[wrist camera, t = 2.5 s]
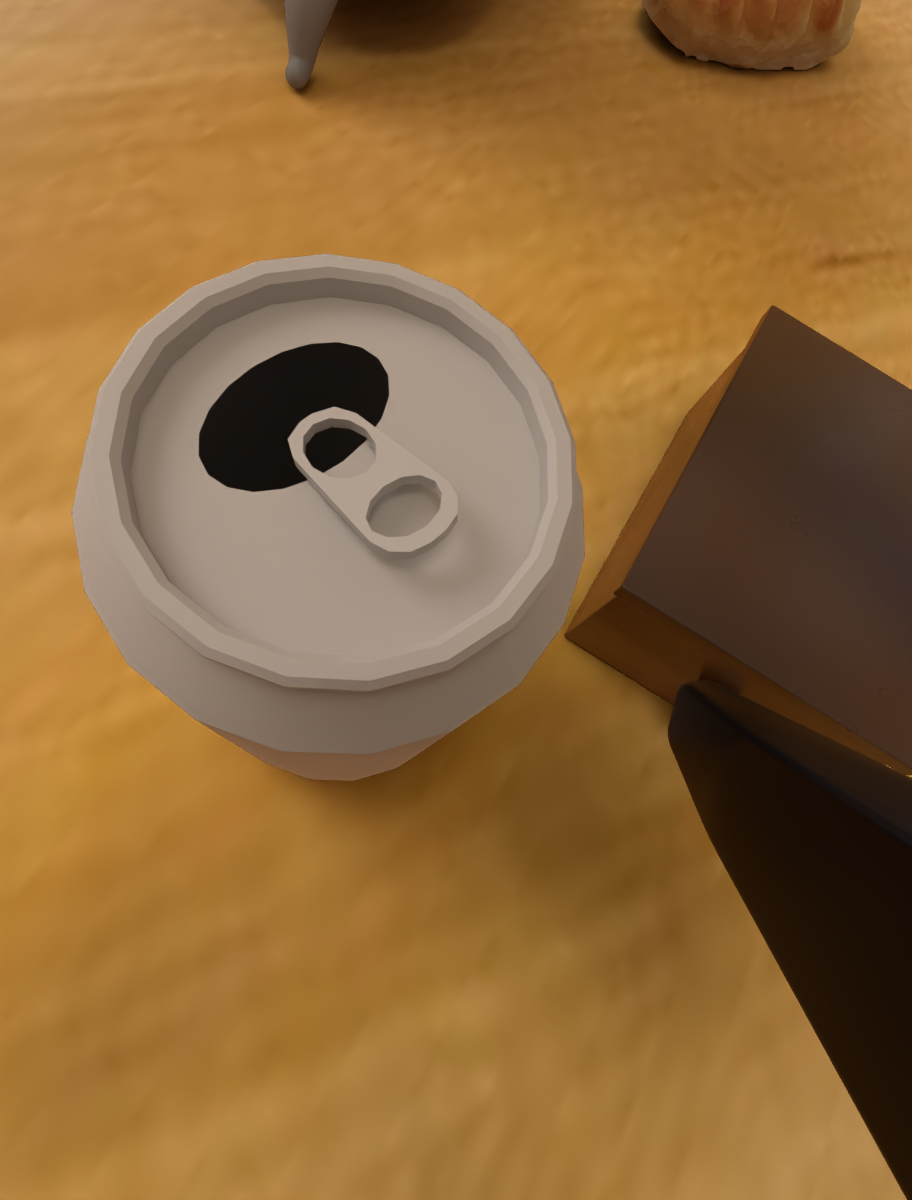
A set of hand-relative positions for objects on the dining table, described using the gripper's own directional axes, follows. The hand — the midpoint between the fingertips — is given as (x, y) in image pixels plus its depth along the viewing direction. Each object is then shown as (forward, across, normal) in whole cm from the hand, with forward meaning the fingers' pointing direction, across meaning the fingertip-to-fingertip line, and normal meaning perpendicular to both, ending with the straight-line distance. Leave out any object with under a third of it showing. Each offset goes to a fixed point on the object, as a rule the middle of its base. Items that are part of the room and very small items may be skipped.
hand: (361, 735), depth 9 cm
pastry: (+30, -20, -15) cm, 39 cm away
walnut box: (+11, -13, +4) cm, 17 cm away
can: (+10, 0, +5) cm, 11 cm away
